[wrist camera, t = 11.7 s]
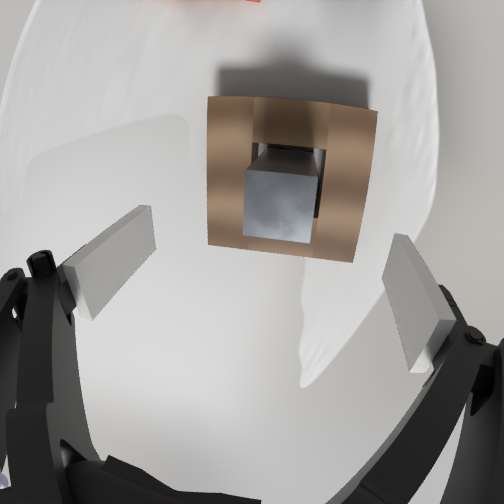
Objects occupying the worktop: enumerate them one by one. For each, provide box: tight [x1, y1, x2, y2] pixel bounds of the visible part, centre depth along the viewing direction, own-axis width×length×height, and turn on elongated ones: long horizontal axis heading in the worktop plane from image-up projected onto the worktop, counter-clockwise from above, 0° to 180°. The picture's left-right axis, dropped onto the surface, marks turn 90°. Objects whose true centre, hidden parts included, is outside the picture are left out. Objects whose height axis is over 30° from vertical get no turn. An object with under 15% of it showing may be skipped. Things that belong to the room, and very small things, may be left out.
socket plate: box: [207, 96, 378, 263], centre depth 29 cm, size 16×16×4 cm
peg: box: [243, 148, 318, 243], centre depth 25 cm, size 5×5×12 cm
